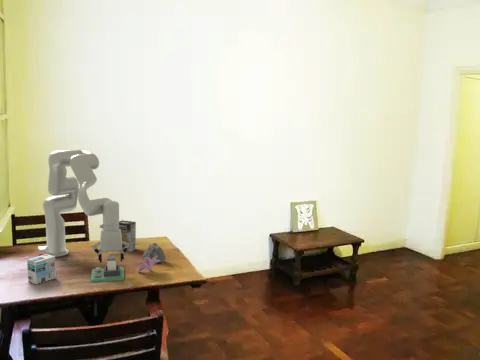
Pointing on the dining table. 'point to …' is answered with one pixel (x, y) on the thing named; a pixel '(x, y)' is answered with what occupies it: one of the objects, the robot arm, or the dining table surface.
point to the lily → (148, 264)
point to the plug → (111, 262)
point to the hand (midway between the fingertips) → (111, 261)
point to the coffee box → (128, 234)
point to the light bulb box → (41, 268)
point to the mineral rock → (155, 253)
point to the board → (107, 274)
